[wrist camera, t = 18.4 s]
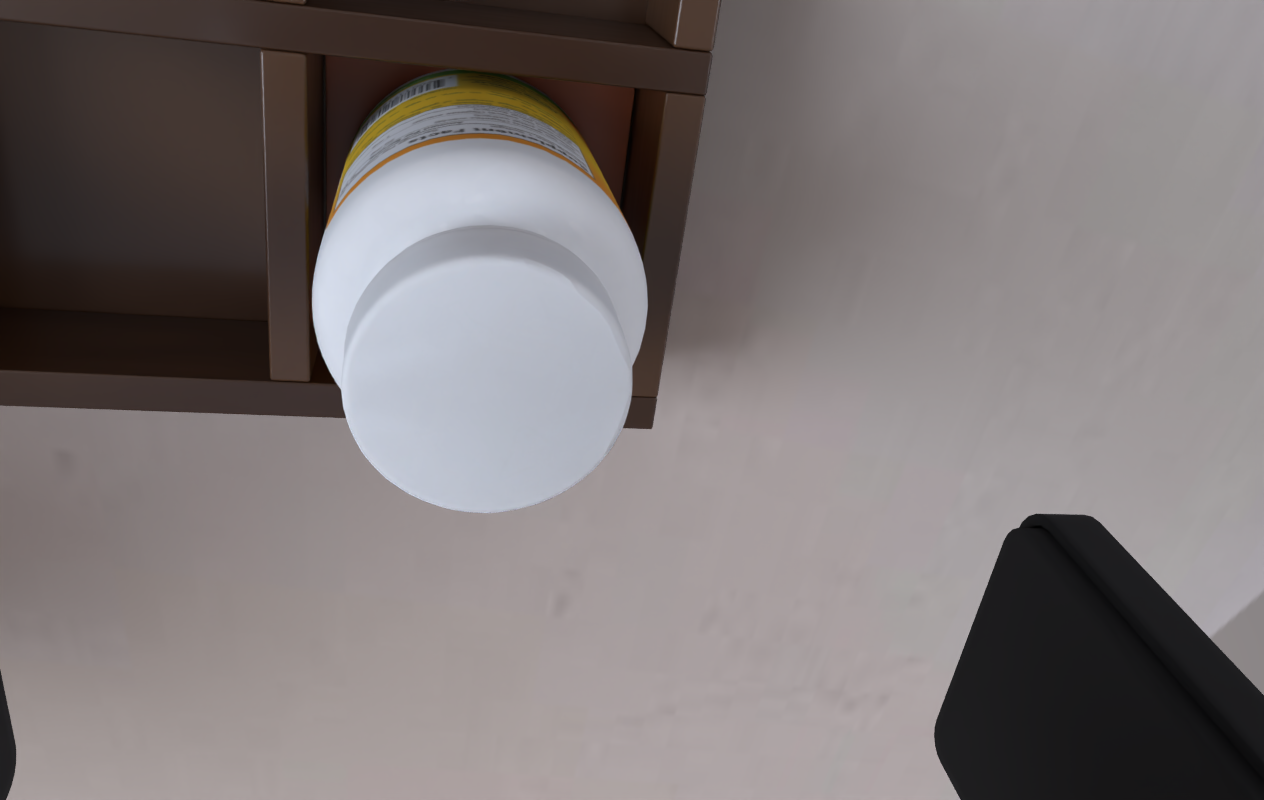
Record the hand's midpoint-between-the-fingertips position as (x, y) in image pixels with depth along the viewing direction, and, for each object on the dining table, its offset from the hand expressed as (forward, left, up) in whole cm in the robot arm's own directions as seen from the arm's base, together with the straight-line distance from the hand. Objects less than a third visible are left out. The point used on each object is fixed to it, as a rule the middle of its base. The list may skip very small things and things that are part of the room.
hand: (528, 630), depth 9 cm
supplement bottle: (0, 0, -15) cm, 15 cm away
